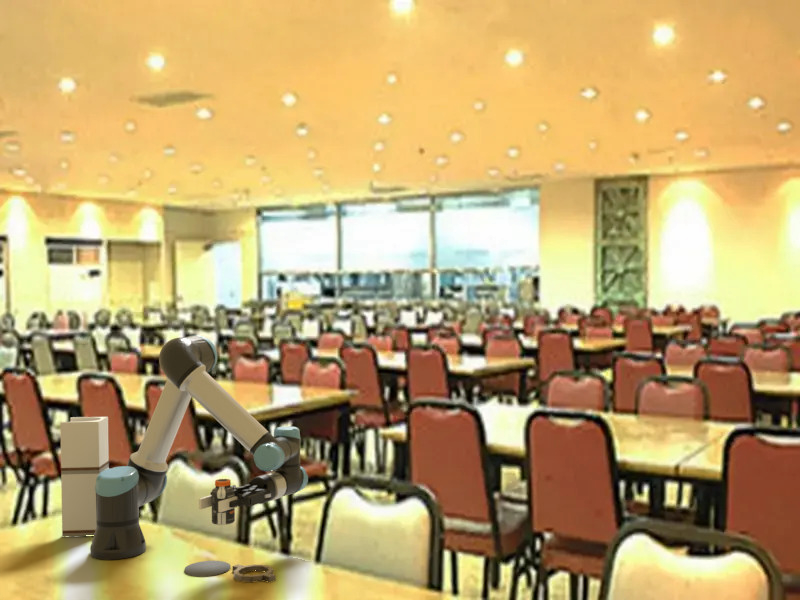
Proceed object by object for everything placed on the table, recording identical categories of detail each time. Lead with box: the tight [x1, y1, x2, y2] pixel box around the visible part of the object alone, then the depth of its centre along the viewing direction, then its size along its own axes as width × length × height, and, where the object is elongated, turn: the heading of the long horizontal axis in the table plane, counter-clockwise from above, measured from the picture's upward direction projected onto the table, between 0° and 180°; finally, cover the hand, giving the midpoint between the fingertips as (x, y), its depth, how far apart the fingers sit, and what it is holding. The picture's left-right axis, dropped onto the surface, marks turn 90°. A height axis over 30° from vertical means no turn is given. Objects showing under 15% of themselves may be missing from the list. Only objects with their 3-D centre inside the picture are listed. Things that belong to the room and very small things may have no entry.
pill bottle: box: [211, 478, 236, 526], centre depth 238 cm, size 6×6×11 cm
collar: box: [232, 564, 276, 583], centre depth 236 cm, size 15×10×1 cm
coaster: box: [184, 560, 231, 577], centre depth 242 cm, size 12×12×1 cm
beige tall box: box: [59, 416, 110, 537], centre depth 280 cm, size 11×11×35 cm
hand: (209, 505), depth 234 cm, fingers closed on pill bottle, 6 cm apart
